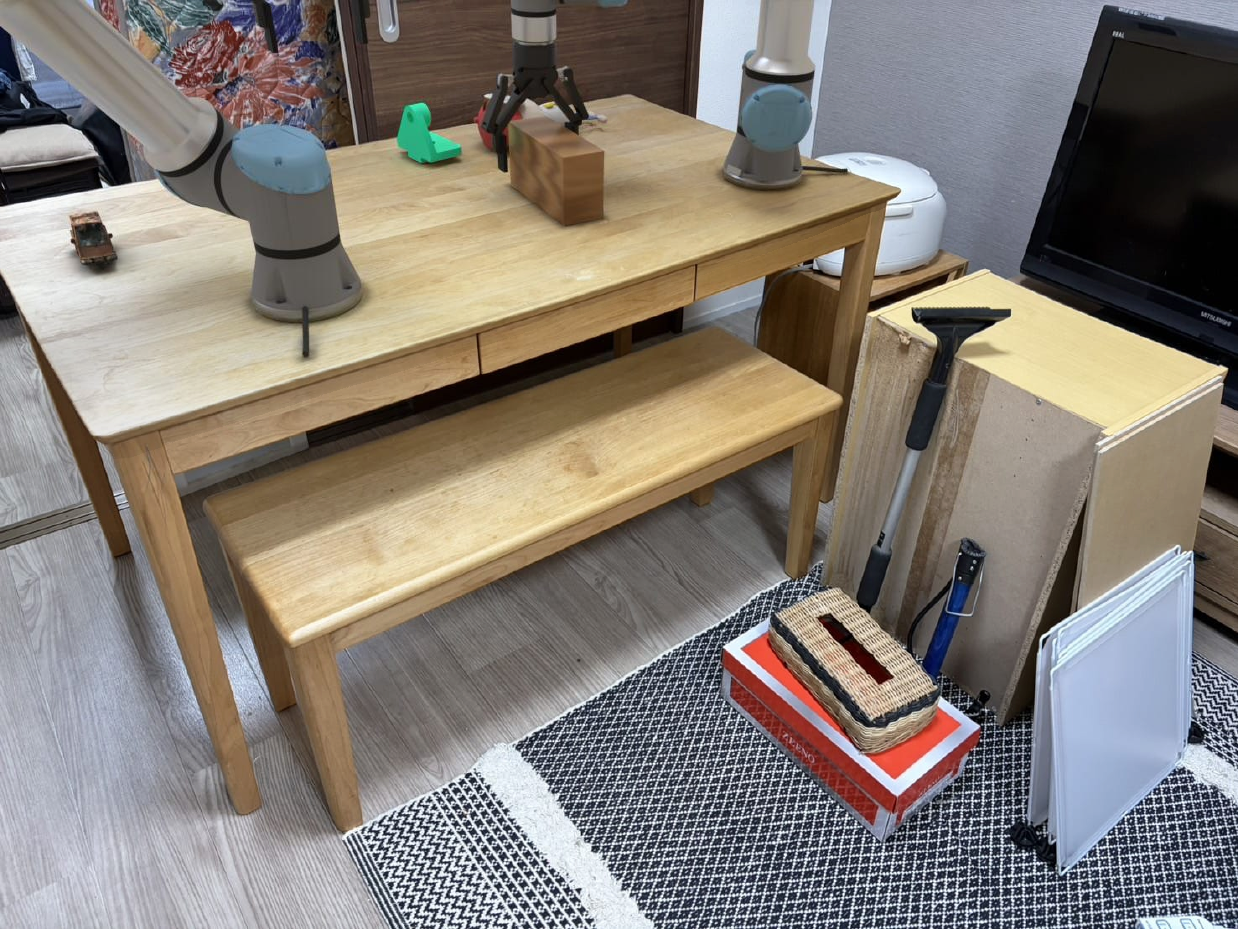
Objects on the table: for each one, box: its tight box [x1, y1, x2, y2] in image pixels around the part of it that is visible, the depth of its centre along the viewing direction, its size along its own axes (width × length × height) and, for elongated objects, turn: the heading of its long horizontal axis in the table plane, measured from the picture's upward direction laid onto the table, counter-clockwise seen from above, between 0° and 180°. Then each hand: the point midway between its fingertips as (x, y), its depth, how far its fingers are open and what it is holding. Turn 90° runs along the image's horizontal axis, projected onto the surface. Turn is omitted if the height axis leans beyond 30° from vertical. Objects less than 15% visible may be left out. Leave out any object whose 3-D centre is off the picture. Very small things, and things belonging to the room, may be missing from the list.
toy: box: [473, 93, 609, 150], centre depth 194 cm, size 18×10×30 cm
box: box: [508, 116, 605, 227], centre depth 164 cm, size 22×8×12 cm, turn 30°
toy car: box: [68, 210, 118, 272], centre depth 141 cm, size 6×12×7 cm, turn 39°
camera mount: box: [396, 102, 463, 164], centre depth 182 cm, size 12×8×10 cm, turn 42°
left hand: (318, 46), depth 138 cm, fingers open, 13 cm apart
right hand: (536, 164), depth 170 cm, fingers open, 13 cm apart
